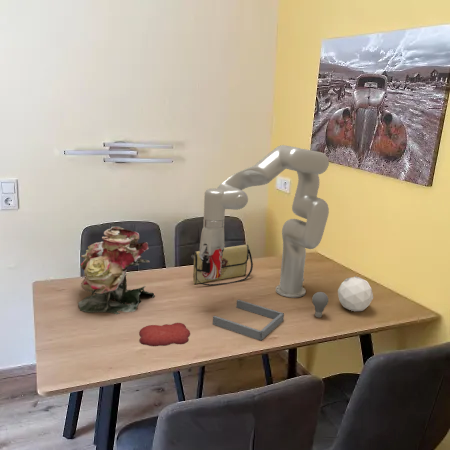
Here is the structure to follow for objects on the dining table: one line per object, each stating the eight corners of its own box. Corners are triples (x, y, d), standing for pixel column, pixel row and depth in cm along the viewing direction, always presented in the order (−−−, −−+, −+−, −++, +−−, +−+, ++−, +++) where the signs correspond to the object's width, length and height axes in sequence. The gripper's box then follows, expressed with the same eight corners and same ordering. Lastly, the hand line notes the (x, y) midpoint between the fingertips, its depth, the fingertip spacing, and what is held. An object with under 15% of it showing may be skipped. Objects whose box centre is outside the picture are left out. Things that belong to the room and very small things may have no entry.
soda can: (218, 281, 170) (220, 250, 167) (199, 279, 171) (201, 248, 168) (222, 274, 177) (224, 244, 174) (204, 272, 178) (205, 242, 175)
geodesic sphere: (336, 303, 175) (361, 276, 174) (323, 289, 188) (346, 263, 187) (362, 324, 179) (386, 297, 178) (347, 308, 192) (370, 283, 191)
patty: (186, 324, 167) (186, 319, 166) (194, 344, 154) (194, 339, 153) (136, 328, 162) (136, 323, 162) (140, 349, 149) (140, 343, 149)
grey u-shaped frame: (237, 306, 182) (238, 299, 181) (283, 320, 172) (284, 313, 172) (212, 324, 167) (212, 316, 166) (261, 340, 157) (261, 332, 157)
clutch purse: (196, 289, 196) (197, 256, 191) (189, 283, 201) (190, 250, 197) (255, 279, 210) (257, 247, 206) (247, 273, 216) (249, 242, 212)
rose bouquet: (92, 284, 195) (90, 215, 187) (159, 293, 190) (160, 222, 182) (60, 310, 171) (56, 232, 163) (135, 321, 166) (135, 241, 158)
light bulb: (317, 321, 173) (319, 296, 170) (307, 314, 178) (309, 290, 175) (329, 318, 176) (332, 294, 173) (319, 312, 181) (322, 288, 178)
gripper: (217, 216, 178) (215, 260, 182) (191, 226, 163) (189, 273, 168) (234, 220, 174) (232, 264, 179) (209, 230, 159) (207, 278, 164)
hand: (211, 268), depth 173 cm, fingers closed on soda can, 7 cm apart
